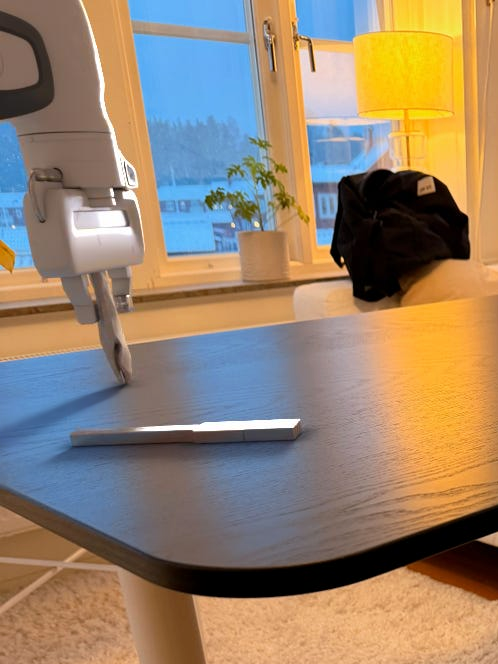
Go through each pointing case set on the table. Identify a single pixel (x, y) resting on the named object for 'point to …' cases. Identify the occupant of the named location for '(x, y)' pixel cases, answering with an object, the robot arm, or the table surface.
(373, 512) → the table surface
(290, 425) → the grey long bar
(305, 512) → the table surface
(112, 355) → the stone tool
